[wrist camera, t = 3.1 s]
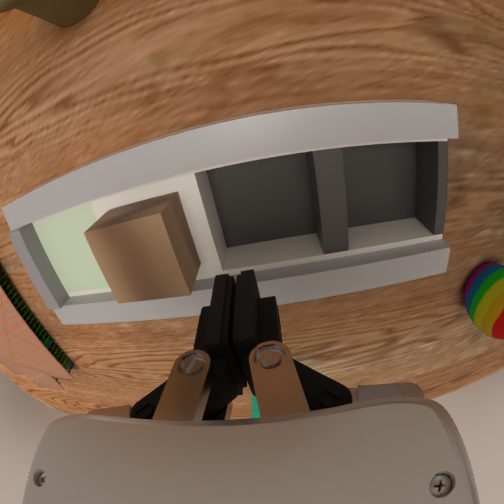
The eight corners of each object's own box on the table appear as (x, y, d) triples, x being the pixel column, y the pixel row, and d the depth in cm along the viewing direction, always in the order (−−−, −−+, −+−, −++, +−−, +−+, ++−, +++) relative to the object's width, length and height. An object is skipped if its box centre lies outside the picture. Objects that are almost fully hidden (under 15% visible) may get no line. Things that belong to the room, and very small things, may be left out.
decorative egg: (504, 274, 27) (542, 319, 18) (467, 313, 30) (499, 364, 22) (491, 242, 25) (539, 290, 16) (448, 288, 28) (488, 345, 19)
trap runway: (419, 100, 18) (460, 105, 13) (419, 241, 25) (448, 275, 20) (34, 187, 23) (-2, 210, 17) (83, 294, 29) (61, 327, 24)
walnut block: (177, 191, 19) (160, 213, 16) (200, 263, 22) (191, 295, 19) (109, 209, 20) (83, 232, 16) (135, 273, 23) (118, 303, 19)
